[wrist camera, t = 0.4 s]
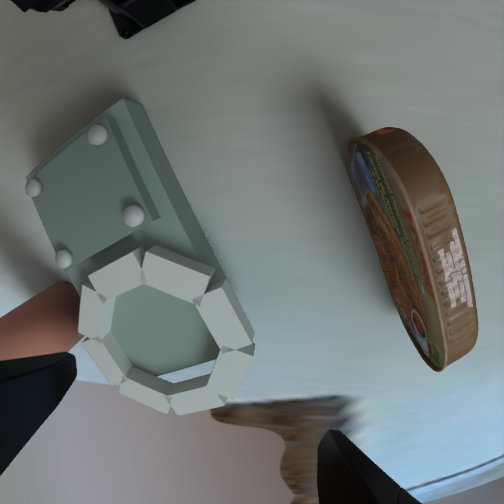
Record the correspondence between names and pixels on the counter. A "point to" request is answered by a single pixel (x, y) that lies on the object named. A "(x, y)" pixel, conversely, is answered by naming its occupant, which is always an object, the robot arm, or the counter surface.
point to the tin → (416, 241)
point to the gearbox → (140, 265)
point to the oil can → (42, 324)
